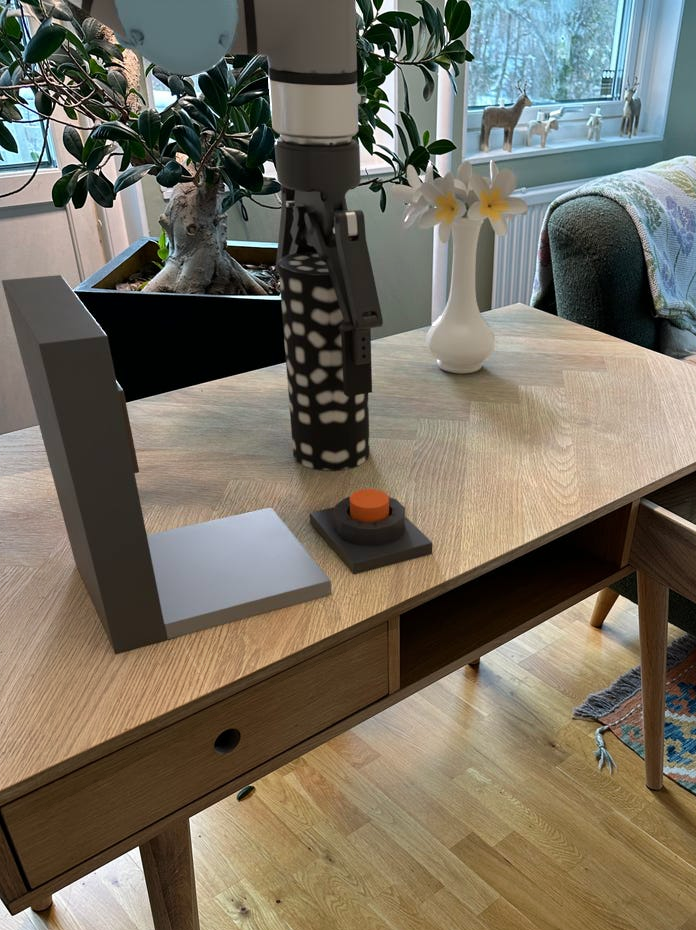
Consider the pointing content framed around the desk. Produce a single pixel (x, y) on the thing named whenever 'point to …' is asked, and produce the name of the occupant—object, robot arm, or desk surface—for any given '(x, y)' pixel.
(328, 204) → the robot arm
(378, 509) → the button
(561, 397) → the desk surface
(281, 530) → the grey l-shaped bookend
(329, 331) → the white-spotted black cylinder
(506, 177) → the flower vase
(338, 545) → the pad
